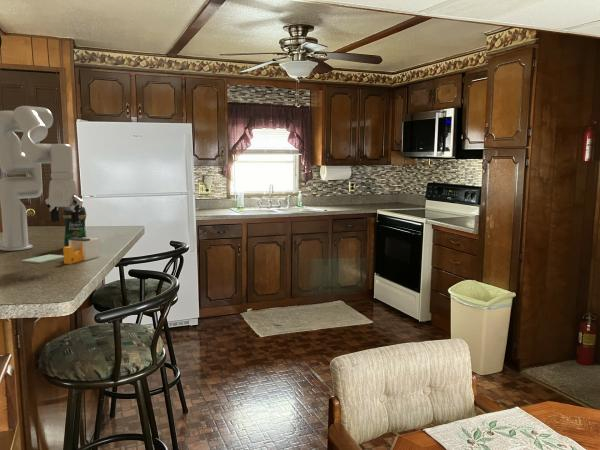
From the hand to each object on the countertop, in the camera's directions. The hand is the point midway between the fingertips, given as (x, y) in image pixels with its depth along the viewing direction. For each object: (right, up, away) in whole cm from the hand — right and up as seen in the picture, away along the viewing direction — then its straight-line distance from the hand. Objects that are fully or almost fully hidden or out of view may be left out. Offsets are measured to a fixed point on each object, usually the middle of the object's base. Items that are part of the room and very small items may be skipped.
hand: (65, 221), depth 191 cm
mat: (-11, -15, +7) cm, 20 cm away
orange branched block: (+1, -16, +6) cm, 17 cm away
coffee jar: (-11, -12, +34) cm, 38 cm away
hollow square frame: (+3, -15, +11) cm, 18 cm away
